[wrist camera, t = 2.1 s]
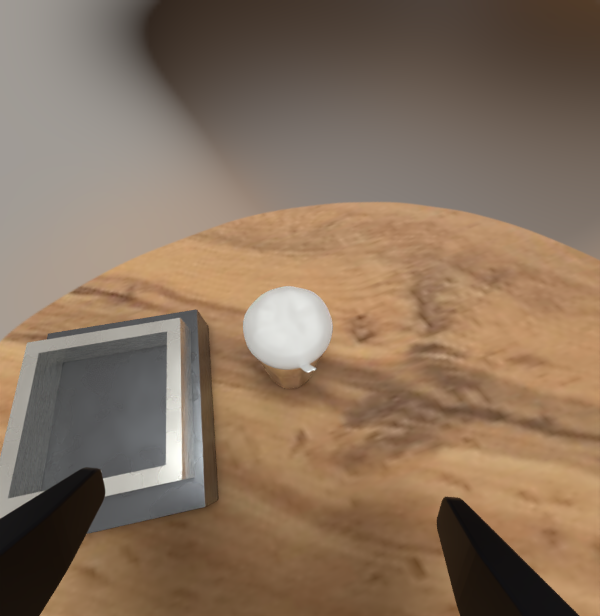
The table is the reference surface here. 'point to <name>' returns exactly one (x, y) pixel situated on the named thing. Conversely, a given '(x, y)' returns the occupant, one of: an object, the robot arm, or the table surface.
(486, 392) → the table surface
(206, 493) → the grey open rectangular box
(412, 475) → the table surface
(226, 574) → the table surface
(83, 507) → the robot arm
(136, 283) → the table surface
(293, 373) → the milkshake
